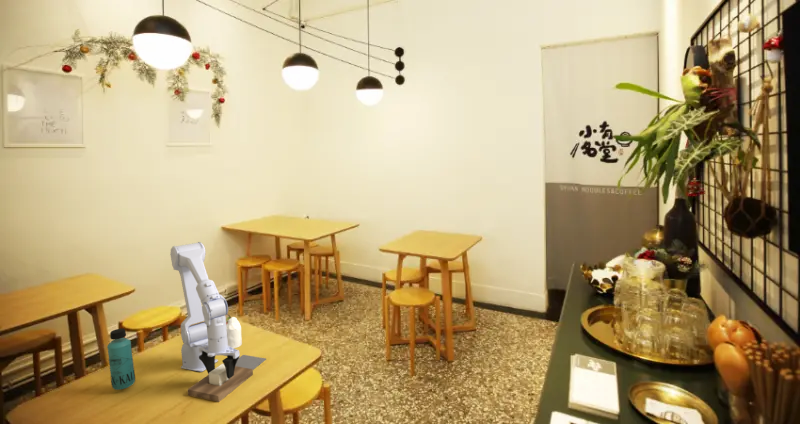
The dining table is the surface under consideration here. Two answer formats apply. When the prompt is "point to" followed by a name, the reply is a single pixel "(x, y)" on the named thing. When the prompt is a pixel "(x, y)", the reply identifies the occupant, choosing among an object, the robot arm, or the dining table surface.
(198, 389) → the block
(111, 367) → the beverage bottle
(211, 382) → the plug
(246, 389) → the dining table surface
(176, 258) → the robot arm
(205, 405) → the dining table surface
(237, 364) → the mat
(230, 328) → the roll
